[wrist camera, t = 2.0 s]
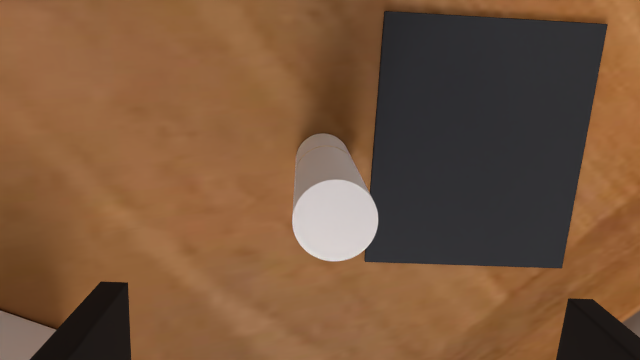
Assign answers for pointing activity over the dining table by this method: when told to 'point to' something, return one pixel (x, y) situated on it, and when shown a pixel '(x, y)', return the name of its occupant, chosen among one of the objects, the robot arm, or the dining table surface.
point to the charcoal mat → (480, 138)
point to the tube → (331, 201)
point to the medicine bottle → (21, 337)
